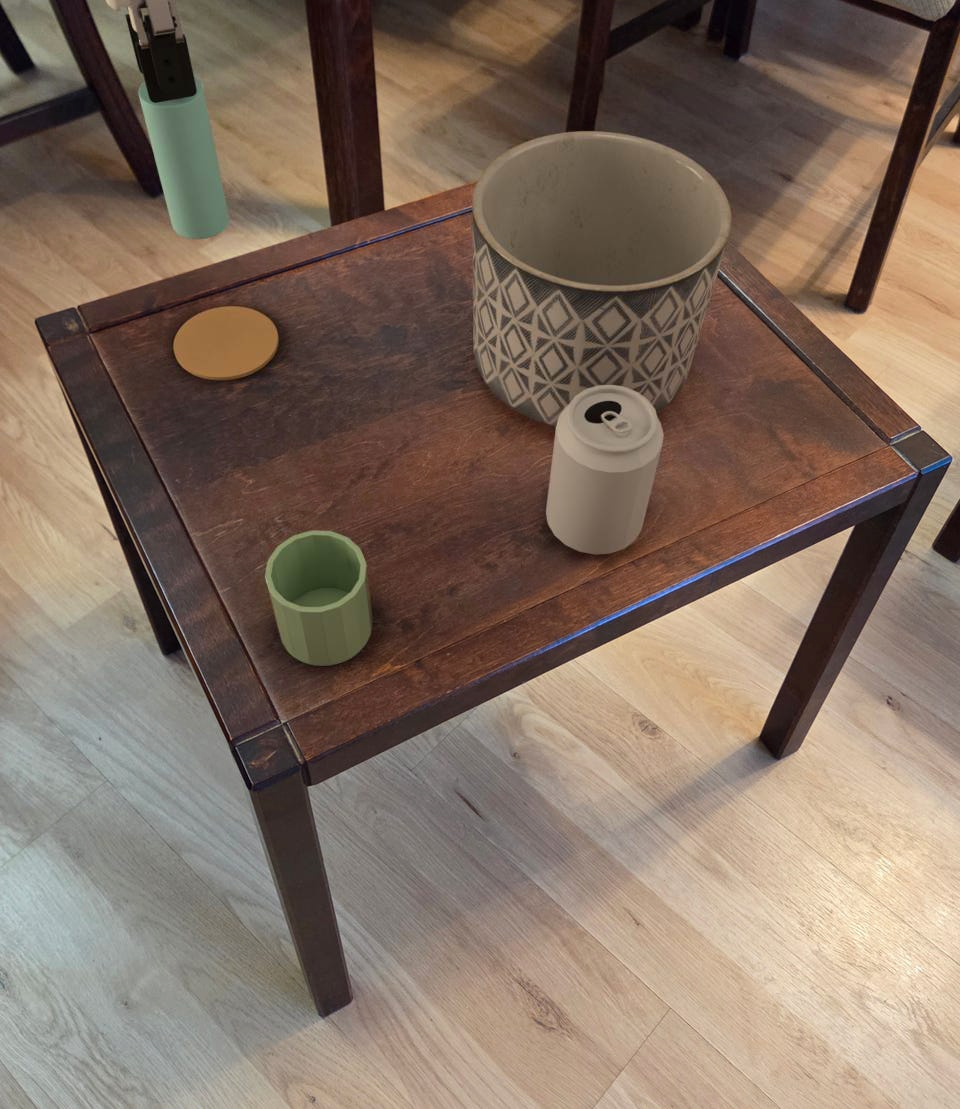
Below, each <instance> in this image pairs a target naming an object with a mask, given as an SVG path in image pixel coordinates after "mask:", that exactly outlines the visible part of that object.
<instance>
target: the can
mask: <svg viewBox="0 0 960 1109" xmlns="http://www.w3.org/2000/svg"><path fill="white" fill-rule="evenodd" d="M664 436H665V434H664V431H663V427H662V423H661V421H660V420H659V417H658V415H657V413H656V410H655V409H654V407H653V406H652V404H651V403H650V402H649V400H648V399H646V398H645V397H644V396H642V395H641V394H640V393H638V392H636V391H634V390H631V389H629V388H627V387H622V386H616V385H598V386H595V387H591V388H588V389H585V390H584V391H582V392H581V393H579V394H578V395H576V396H575V397H574V399H573V400H572V401H571V403H570V404H569V405H567V406H566V407H565V409H564V410H563V411H562V413H561V414H560V415H559V418H558V422H557V426H556V427H555V433H554V440H553V448H552V458H551V465H550V466H551V467H550V474H549V483H548V492H547V500H546V507H545V508H546V509H545V515H546V521H547V525H548V527H549V529H550V531H551V532H552V533H553V535H554V536H555V537H556V538H557V539H558V540H559V541H560V542H561V543H562V544H564V545H565V546H567V547H569V548H571V549H573V550H575V551H577V552H579V553H585V554H591V555H610V554H613V553H616V552H618V551H622V550H625V549H626V548H627V547H629V546H630V545H631V544H633V543H634V542H635V541H636V540H637V538H638V537H639V535H640V533H641V532H642V530H643V526H644V522H645V518H646V514H647V509H648V506H649V501H650V499H651V498H650V497H651V493H652V489H653V485H654V481H655V477H656V473H657V468H658V464H659V462H660V461H659V460H660V456H661V452H662V449H663V442H664Z"/></svg>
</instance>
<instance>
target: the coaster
mask: <svg viewBox="0 0 960 1109" xmlns="http://www.w3.org/2000/svg"><path fill="white" fill-rule="evenodd" d="M279 339H280V338H279V333H278V330H277V327H276V325H275V324H274V322H273V320H271V319H270V318H269V317H268V316H266V315H265V314H264V313H262V312H260V311H258V310H255V309H252V308H250V307H244V306H234V305H232V306H231V305H229V306H219V307H214V308H211V309H210V308H209V309H207V310H204V311H202V312H199V313H197V314H195V315H194V316H192V317H190V318H189V319H187V321H186V322H184V323H183V324H182V325H181V326H180V328H179V329H178V331H177V333H176V334H175V337H174V340H173V353H174V355H175V358H176V360H177V362H178V364H179V365H180V366H181V367H182V368H183V369H184V370H185V371H187V372H188V373H190V374H191V375H193V376H195V377H197V378H201V379H205V380H209V381H233V380H237V379H241V378H245V377H247V376H250V375H252V374H254V373H256V372H258V371H260V370H261V369H263V368H264V367H265V366H266V365H267V364H269V362H271V361H272V360H273V358H274V356H275V355H276V353H277V350H278V347H279V343H280V342H279Z"/></svg>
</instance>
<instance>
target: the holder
mask: <svg viewBox="0 0 960 1109" xmlns="http://www.w3.org/2000/svg"><path fill="white" fill-rule="evenodd" d="M264 579H265V583H266V587H267V591H268V595H269V600H270V604H271V608H272V611H273V616H274V619H275V623H276V627H277V632H278V634H279V637H280V641H281V643H282V646H283V647H284V649H285V650H286V651H287V652H288V654H290V655H291V656H292V657H293V658H294V659H296V660H298V661H300V662H302V663H304V664H307V665H310V666H316V667H318V666H319V667H328V666H336V665H338V664H342V663H345V662H347V661H349V660H350V659H353V657H355V656H357V654H358V653H360V652H361V650H362V649H363V648H364V647H365V646H366V645H367V643H368V641H369V640H370V637H371V634H372V630H373V611H372V610H373V609H372V601H371V593H370V583H369V582H370V581H369V574H368V565H367V562H366V559H365V555H364V554H363V551H362V548H360V547H359V546H358V545H357V543H355V542H354V541H353V540H352V539H351V538H350V537H348V536H345V535H344V534H340V533H337V532H335V531H332V530H316V529H315V530H308V531H305V532H300V533H298V534H294V535H292V536H291V537H289V538H288V539H286V540H285V541H283V542H282V543H280V544H279V545H277V547H276V548H275V549H274V550H273V552H272V553H271V555H270V556H269V558H268V560H267V562H266V568H265V574H264Z"/></svg>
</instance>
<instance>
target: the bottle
mask: <svg viewBox="0 0 960 1109" xmlns="http://www.w3.org/2000/svg"><path fill="white" fill-rule="evenodd" d="M128 10H129V12H128V14H129V15H130V19H131V23H132V27H133V29H134V30H135V31H136V32H137V30H136V26H135V22H134V18H133V14H132V10H131V6H128ZM128 10H127V11H128ZM141 12H142V16H143V20H144V16H145V15H148V9H147V8H142V9H141ZM194 79H195V84H196V89H197V93H196V94H195V95H194V96H192V97H186V98H181V99H175V100H170V101H164V102H158V103H154V102H152V101H151V100H150V98H149V96H148V92H147V88H146V84H145V81H143V82H142V83H141V85H140V86H139V88H138V92H137V93H138V99H139V101H140V107H141V109H142V110H141V111H142V113H143V114H142V115H143V117H144V121H145V126H146V130H147V133H148V136H149V141H150V145H151V148H152V149H151V150H152V152H153V156H154V161H155V164H156V169H157V173H158V176H159V181H160V184H161V187H162V191H163V195H164V200H165V203H166V209H167V212H168V216H169V219H170V223H171V227H172V229H173V231H174V232H175V233H176V234H177V235H179V236H181V237H182V238H185V239H188V240H207V239H210V238H214V237H216V236H218V235H219V234H221V233H223V232H224V231H225V230H226V229H227V227H228V226H229V224H230V214H229V210H228V204H227V200H226V194H225V190H224V185H223V179H222V174H221V170H220V166H219V160H218V155H217V150H216V146H215V140H214V134H213V131H212V124H211V121H210V116H209V110H208V105H207V101H206V96H205V91H204V86H203V83H202V82H201V80H199V78H198V77H196V76H194Z"/></svg>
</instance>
